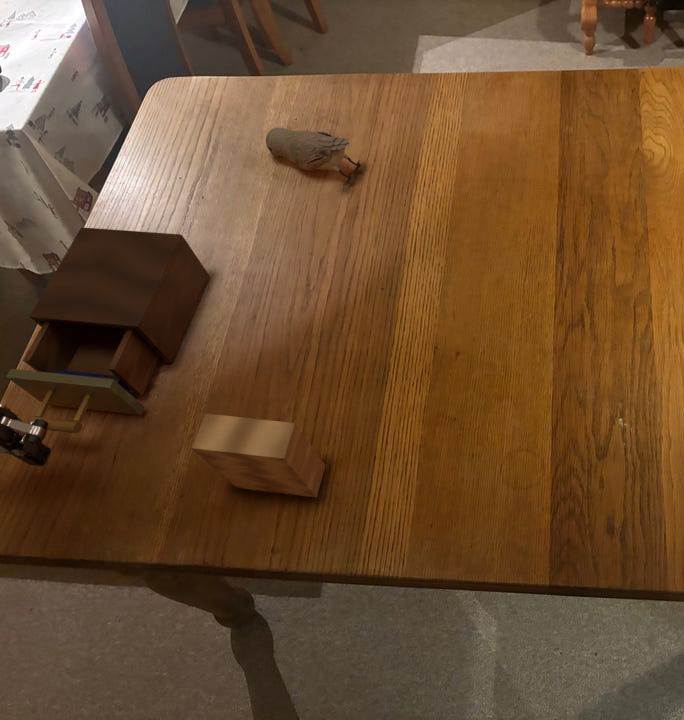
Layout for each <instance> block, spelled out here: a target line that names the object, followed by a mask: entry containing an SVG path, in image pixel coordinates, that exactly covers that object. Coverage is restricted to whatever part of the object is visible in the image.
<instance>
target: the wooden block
mask: <svg viewBox="0 0 684 720" xmlns="http://www.w3.org/2000/svg"><path fill="white" fill-rule="evenodd" d="M191 449H192V450H193V451H194V452H195V453H196V454H198V455H199V456H200V457H201V458H202V460H204V461H205V462H207V464H209V465H210V466H211V467H212V468H213V469H214V470H216V472H218V473H219V474H220V475H221V476H223V478H225V479H226V481H228V482H229V483H230V484H231V485H232V486H234V488H236V489H241V490H242V489H243V490H250V491H260V492H267V493H277V494H283V495H284V494H285V495H292V496H301V497H307V498H308V497H309V498H317V497H318V494H319V491H320V487H321V484H322V481H323V480H322V479H323V477H324V472H325V469H326V464H325V463H324V461H323V460H322V458H321V457H320V456H319V455H318V453H317V451H316V450H315V449H314V448H313V446H312V445H311V444H310V442H309V440H308V439H307V437H306V436H305V435H304V434H303V432H302V431H301V430H300V428H299V427H298V425H297V424H296V423H295V422H289V421H280V420H279V421H277V420H269V419H260V418H253V417H252V418H250V417H243V416H231V415H224V414H213V413H204V415H203V418H202V420H201V423H200V426H199V428H198V431H197V433H196V435H195V438H194V440H193V443H192V446H191Z"/></svg>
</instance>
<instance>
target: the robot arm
mask: <svg viewBox="0 0 684 720" xmlns="http://www.w3.org/2000/svg"><path fill="white" fill-rule="evenodd" d="M47 427H48V422H46V421H45V420H42V419H36V420H35V421H30V422H29V424H27V422H25V421H24V420H22V419H21V418H19V417H18V415H17V414H16V413H15V412H13V411H12V410H11V409H10V408H9V407H8V406H6V405H4V404H2V403H0V453H1V454H2V455H11V456H13V457H14V458H17V459H18V460H20V461H22V462H23V463H26V464H28V465H29V466H37V467H44V466H45V465H46V464H47V462H48V460H49V458H50V456H51V453H52V450H51V448H50V447H49V446H47V445H45V444H44V443H42V442H43V441H44V440H45V437H46V436H47V433H48V430H47Z"/></svg>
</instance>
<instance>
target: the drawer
mask: <svg viewBox="0 0 684 720" xmlns="http://www.w3.org/2000/svg"><path fill="white" fill-rule="evenodd" d="M159 358H160V355H159V354H158V353H157V352H156V351H155V350H154V349H153V348H152V347H151V346H150V345H149V343H148V342H147V341H146V340H145V339H144V338H143V337H142V336H141V335H140V334H139V333H138V332H137V331H136V329H127V328H116V327H105V326H94V325H83V324H72V323H61V322H50V321H45V322H44V324H43V326H42V327H41V326H40V329H39V330H38V333H37V334H36V336H35V338H34V339H33V341H32V343H31V345H30V347H29V349H28V350H27V352H26V353H25V355H24V357H23V359H22V361H23V362H24V363H25V364H27V365H28V366H29V367H30V368H32V369H33V370H27V369H18V368H10V369H9V370H8V371H9V372H8V373H7V374H6V379H8V380H9V381H10V382H12V383H13V384H15V385H16V386H18V388H19V387H20V388H21V389H22V390H24V391H25V392H26V393H28V394H29V395H30V396H32V397H33V398H35V399H36V400H38V401H39V402H40V406H39V407H38V410H37V411H36V413H35V416H34V415H33V416H30V417H29V418H28V420H27V422H26V423H27V424H29V422H30V421H35V420H36V419H42V420H45V421H46V422H48V427H47V431H52V432H53V431H54V432H61V433H70V434H79V433H81V431H82V430H83V423H82V421H83V419H84V416H85V414H86V412H87V411H88V410H92V411H99V412H110V413H118V414H126V415H127V414H128V415H136V416H141V415H142V414H143V411H144V409H145V405H143V404H142V403H141V402H140V401H139V400H138V399H136V397H134V396H141V397H143V395H144V394H145V392H146V389H147V387H148V384H149V383H150V380H151V377H152V376H153V373H154V371H155V368H156V367H157V364H158V360H159ZM58 370H63V371H72V372H82V373H92V374H102V375H112V376H116V377H117V378H118V379H119V380H120V381H122V382H123V383H124V384H125V385H126V386H127V387H128V388H129V391H128V392H127V391H126V390H125V389H124V388H123V387H122V386H120V385H119V384H118V383H117V382H116V381H115V380H114V379H106V378H97V377H87V376H77V375H67V374H58V373H54V372H55V371H58ZM49 406H55V407H56V406H57V407H64V408H72V409H77V412H76V413H75V415H74V418H73V420H69V419H60V418H52V417H44V416H45V415H46V412H47V410H48V408H49Z"/></svg>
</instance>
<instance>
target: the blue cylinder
mask: <svg viewBox="0 0 684 720" xmlns="http://www.w3.org/2000/svg"><path fill="white" fill-rule="evenodd" d="M54 373H58V374H67V375H77V376H87V377H97V378H106V379H114V380H115V381H116V382H117V383H118V384H119V385H120V386H122V387H123V388H124V389H125V390H126V391H127V392H128V391H129V388H128V387H127V386H126V385H125V384H124V383H123V382H122V381H120V380H119V379H118V378H117V377H116V376H112V375H102V374H92V373H82V372H72V371H63V370H58V371H55V372H54Z"/></svg>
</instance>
